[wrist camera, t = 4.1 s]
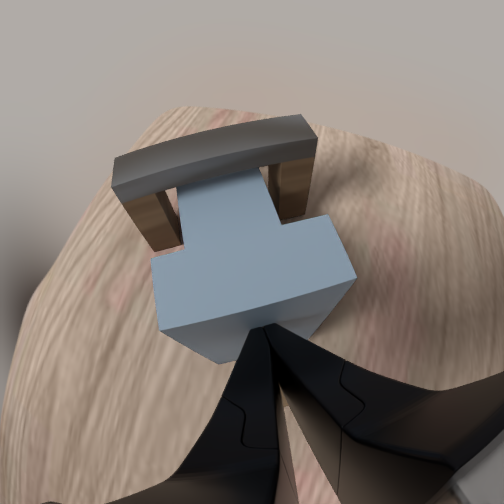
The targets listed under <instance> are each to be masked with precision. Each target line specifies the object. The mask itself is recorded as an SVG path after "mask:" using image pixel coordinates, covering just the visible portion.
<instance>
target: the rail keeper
mask: <svg viewBox="0 0 504 504" xmlns="http://www.w3.org/2000/svg"><path fill="white" fill-rule="evenodd" d="M317 141H318V137H317V136H316V134H315V133H314V132H313V130H312V129H311V127H310V126H309V124H308V123H307V122H306V120H305V119H304V118H303V117H302V115H301V114H299V115H291V116H283V117H276V118H269V119H263V120H257V121H251V122H246V123H240V124H235V125H230V126H225V127H221V128H216V129H212V130H207V131H203V132H199V133H195V134H191V135H187V136H183V137H180V138H176V139H172V140H169V141H165V142H162V143H159V144H155V145H152V146H149V147H146V148H142V149H139V150H136V151H133V152H130V153H127V154H125V155H122V156H119V157H116V158H115V160H114V168H113V176H112V185H111V188H112V189H113V191H114V192H115V194H116V196H117V197H118V199H119V200H120V202H121V203H122V205H123V207H124V208H125V210H126V211H127V213H128V214H129V216H130V217H131V219H132V220H133V222H134V223H135V225H136V226H137V228H138V229H139V231H140V232H141V234H142V235H143V236H144V238H145V239H146V241H147V242H148V244H149V245H150V246H151V248H152V249H153V251H154V252H156V251H160V250H164V249H168V248H171V247H175V246H179V245H181V242H180V235H179V227H178V220H177V216H176V214H175V212H174V210H173V207H172V205H171V203H170V201H169V198H168V196H167V194H166V192H165V190H168V189H171V188H175V187H178V186H182V185H186V184H189V183H193V182H197V181H201V180H205V179H209V178H213V177H217V176H221V175H225V174H230V173H234V172H238V171H243V170H248V169H252V168H257V167H262V166H267V165H268V192H269V195H270V197H271V200H272V202H273V205H274V207H275V210H276V212H277V215H278V217H279V220H283V219H287V218H291V217H295V216H300V215H304V214H305V210H306V205H307V199H308V194H309V188H310V183H311V177H312V171H313V165H314V160H315V153H316V147H317ZM279 386H280V385H279ZM280 390H281V388H280ZM281 395H282V401H283V407H285V406H289V405H288V403H287V401H286V399H285V397H284V395H283V392H282V390H281Z"/></svg>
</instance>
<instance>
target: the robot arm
mask: <svg viewBox="0 0 504 504" xmlns="http://www.w3.org/2000/svg"><path fill="white" fill-rule="evenodd" d="M279 385H280V386H279ZM280 388H281V390H282V392H283V395H284V397H285V399H286V401H287V403H288V405H289V407H290V409H291V411H292V413H293V415H294V416H295V418H296V420H297V422H298V424H299V426H300V428H301V430H302V432H303V434H304V436H305V438H306V440H307V442H308V444H309V445H310V447H311V449H312V451H313V453H314V455H315V457H316V459H317V461H318V462H319V464H320V466H321V468H322V470H323V472H324V473H325V475H326V477H327V479H328V481H329V483H330V484H331V486H332V488H333V490H334V492H335V493H336V495H337V496H338V499H339V501H340V502H341V504H504V371H503V372H501V373H498V374H496V375H493V376H490V377H488V378H485V379H482V380H479V381H476V382H473V383H470V384H466V385H463V386H460V387H456V388H453V389H449V390H443V391H434V390H427V389H423V388H420V387H416V386H413V385H410V384H406V383H403V382H400V381H397V380H394V379H390V378H387V377H384V376H382V375H379V374H376V373H374V372H371V371H368V370H366V369H364V368H362V367H359V366H357V365H355V364H353V363H351V362H349V361H346V360H345V359H343V358H341V357H339V356H337V355H335V354H333V353H331V352H329V351H327V350H325V349H323V348H321V347H320V346H318V345H316V344H314V343H312V342H310V341H308V340H306V339H304V338H302V337H301V336H299V335H297V334H295V333H293V332H291V331H290V330H288V329H286V328H284V327H282V326H280V325H279V324H277V323H272V324H268V325H265V326H264V327H257V328H253V329H250V330H249V333H248V335H247V337H246V340H245V342H244V345H243V347H242V349H241V352H240V354H239V356H238V359H237V361H236V363H235V366H234V368H233V371H232V373H231V375H230V378H229V380H228V382H227V384H226V387H225V389H224V391H223V394H222V397H221V398H220V400H219V402H218V405H217V407H216V409H215V411H214V413H213V415H212V417H211V419H210V421H209V423H208V424H207V426H206V427H205V429H204V431H203V432H202V434H201V436H200V437H199V439H198V440H197V442H196V443H195V445H194V446H193V448H192V449H191V451H190V452H189V454H188V455H187V457H186V458H185V459H184V461H183V462H182V464H181V465H180V467H179V468H178V469H177V470H176V471H175V473H174V474H173V475H172V476H170V477H169V478H168V479H167V480H165V481H163V482H162V483H159V484H157V485H155V486H152V487H150V488H148V489H145V490H143V491H140V492H138V493H135V494H132V495H130V496H127V497H124V498H121V499H118V500H115V501H112V502H109V503H106V504H299V501H298V494H297V488H296V482H295V475H294V469H293V463H292V456H291V450H290V444H289V438H288V432H287V425H286V419H285V413H284V407H283V401H282V395H281V390H280ZM42 504H60V503H57V502H45V503H42Z"/></svg>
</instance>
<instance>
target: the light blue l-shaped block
mask: <svg viewBox="0 0 504 504" xmlns="http://www.w3.org/2000/svg"><path fill="white" fill-rule="evenodd" d="M176 189H177V198H178V206H179V213H180V221H181V228H182V235H183V241H184V248H185V250H181V251H177V252H173V253H170V254H166V255H162V256H158V257H155V258H151V268H152V278H153V287H154V296H155V303H156V311H157V318H158V325H159V331H161V332H162V333H164V334H166V335H167V336H169V337H171V338H172V339H174V340H176V341H177V342H179V343H181V344H183V345H184V346H186V347H188V348H190V349H191V350H193V351H195V352H197V353H198V354H200V355H202V356H204V357H206V358H208V359H209V360H211V361H213V362H215V363H217V364H223V363H227V362H231V361H236V360H237V359H238V356H239V354H240V352H241V349H242V347H243V345H244V342H245V340H246V337H247V335H248V333H249V330H250V329H253V328H257V327H264V326H265V325H268V324H272V323H277V324H279V325H280V326H282V327H284V328H286V329H288V330H290V331H291V332H293V333H295V334H297V335H299V336H301V337H302V338H304V339H306V340H308V339H309V338H310V336H311V335H312V334H313V333H314V332H315V331H316V329H317V328H318V327H319V326H320V325H321V323H322V322H323V321H324V320H325V319H326V317H327V316H328V315H329V314H330V312H331V311H332V310H333V309H334V307H335V306H336V305H337V304H338V302H339V301H340V300H341V299H342V297H343V296H344V295H345V293H346V292H347V291H348V289H349V288H350V287H351V286H352V284H353V283H354V282H355V280H356V279H357V276H356V274H355V271H354V269H353V267H352V264H351V262H350V260H349V258H348V255H347V253H346V251H345V249H344V247H343V244H342V242H341V240H340V238H339V236H338V234H337V232H336V229H335V227H334V225H333V223H332V221H331V219H330V217H329V215H328V214H327V215H323V216H318V217H314V218H310V219H306V220H301V221H297V222H293V223H289V224H285V225H281V222H280V220H279V217H278V215H277V212H276V210H275V207H274V205H273V202H272V200H271V197H270V195H269V192H268V190H267V187H266V185H265V182H264V180H263V177H262V175H261V172H260V170H259V167H257V168H252V169H248V170H243V171H238V172H234V173H230V174H225V175H221V176H217V177H213V178H209V179H205V180H201V181H197V182H193V183H189V184H186V185H182V186H178V187H176Z"/></svg>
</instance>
